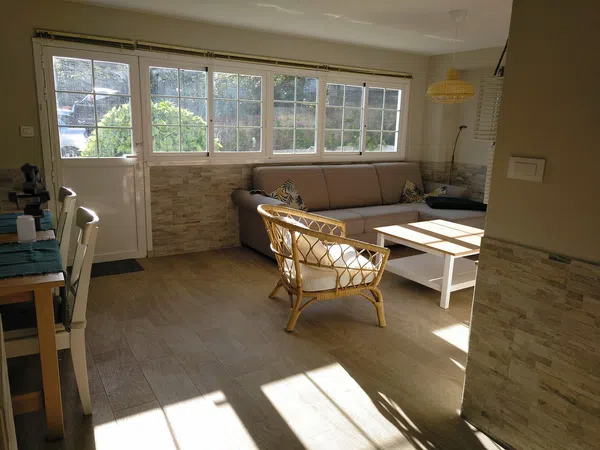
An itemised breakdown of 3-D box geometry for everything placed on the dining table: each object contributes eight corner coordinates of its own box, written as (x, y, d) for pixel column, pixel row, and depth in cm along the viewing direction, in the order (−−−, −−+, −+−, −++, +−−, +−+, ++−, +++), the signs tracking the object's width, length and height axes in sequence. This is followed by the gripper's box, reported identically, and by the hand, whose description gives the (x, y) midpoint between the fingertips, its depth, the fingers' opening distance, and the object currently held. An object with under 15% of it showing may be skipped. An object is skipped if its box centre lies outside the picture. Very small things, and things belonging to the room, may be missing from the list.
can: (28, 242, 220) (25, 218, 217) (14, 241, 221) (12, 217, 218) (39, 238, 227) (37, 215, 224) (26, 237, 228) (24, 214, 226)
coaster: (19, 240, 226) (19, 238, 226) (37, 238, 229) (37, 237, 229) (16, 244, 219) (16, 242, 219) (35, 243, 222) (35, 241, 222)
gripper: (6, 175, 230) (3, 201, 222) (48, 175, 237) (47, 200, 229) (10, 188, 239) (8, 213, 231) (51, 188, 246) (50, 212, 238)
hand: (28, 209), depth 232 cm, fingers open, 9 cm apart
